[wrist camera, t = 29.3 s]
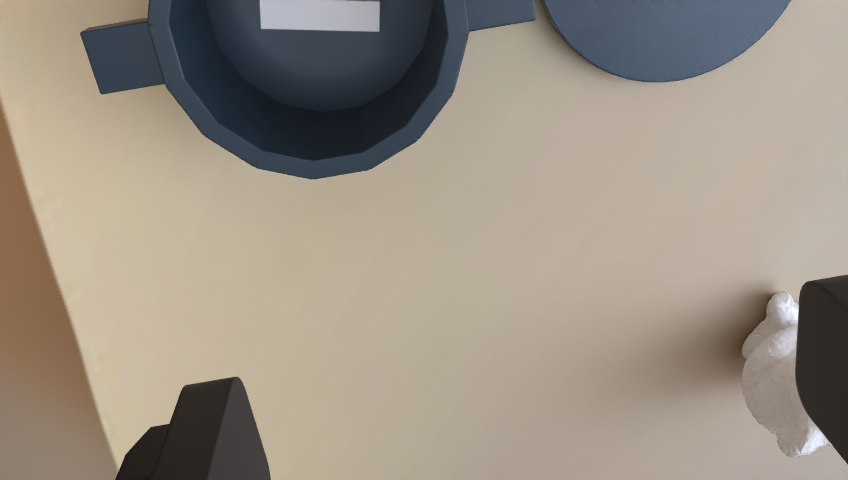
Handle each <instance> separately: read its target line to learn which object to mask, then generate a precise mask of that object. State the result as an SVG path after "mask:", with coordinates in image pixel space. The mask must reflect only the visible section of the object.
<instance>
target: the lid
mask: <svg viewBox="0 0 848 480" xmlns="http://www.w3.org/2000/svg"><path fill="white" fill-rule="evenodd" d="M541 1H542V3H543V6H544V8H545V10H546V13H547V15H548V17H549V19H550V20H551V22H552V23H553V25H554V27H555V28H556V30H557V32H558V33H559V34H560V35H561V36H562V38H563V39H564V40H565V41H566V42H567V44H568V45H569V46H570V47H572V48H573V49H574V50H575V51H576V52H577V53H578V54H579V55H580V56H582V57H583V58H584V59H586V60H587V61H589V62H590V63H592V64H593V65H595V66H596V67H598V68H600V69H602V70H604V71H606V72H608V73H610V74H613V75H616V76H619V77H622V78H626V79H630V80H636V81H642V82H669V81H679V80H683V79H687V78H691V77H696V76H698V75H701V74H704V73H706V72H709V71H712V70H714V69H716V68H718V67H720V66H722V65H724V64H726V63H728V62H730V61H731V60H733V59H734V58H736V57H737V56H739V55H740V54H742V53H743V52H745V51H746V50H747V49H748V48H749V47H751V46H752V45H753V44H754V43H755V42H757V41H758V40H759V39H760V38H761V37H762V36H763V35H764V34H765V33H766V32H767V31H768V30H769V29H770V28H771V27H772V26H773V24H774V23H775V22H776V21H777V19H778V18H779V17H780V16H781V14H782V13H783V12H784V10H785V9H786V7H787V6H788V4H789V2H790V1H791V0H541Z"/></svg>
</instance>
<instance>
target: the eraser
mask: <svg viewBox="0 0 848 480" xmlns="http://www.w3.org/2000/svg"><path fill="white" fill-rule="evenodd" d="M260 17H261V29H290V30H330V31H370V32H379V18H380V0H260Z"/></svg>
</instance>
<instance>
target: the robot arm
mask: <svg viewBox="0 0 848 480" xmlns="http://www.w3.org/2000/svg"><path fill="white" fill-rule="evenodd" d="M795 380H796V386H797V391H798V394H799V397H800V400H801V403H802V405H803V407H804V409H805V411H806V413H807V414H808V416H809V417H810V419H811V420H812V421H813V422H814V424H815V425H816V426H817V427H818V428H819V430H820V431H821V432H822V433H823V435H824V436H825V437H826V438H827V439H828V441H829V442H830V443H831V444H832V446H833V447H834V448H835V449H836V450H837V452H838V453H839V454H840V455H841V457H842V458H843V459H844V460H845V462H846V463H847V464H848V275H843V276H837V277H831V278H825V279H819V280H813V281H808V282H806V283H805V284H804V285H803V286H802V289H801V291H800V296H799V311H798V328H797V346H796V364H795ZM115 480H271V479H270V472H269V466H268V462H267V458H266V455H265V452H264V448H263V445H262V442H261V439H260V435H259V432H258V429H257V426H256V422H255V419H254V416H253V413H252V409H251V406H250V403H249V400H248V396H247V393H246V390H245V387H244V385H243V383H242V381H241V379H240V378H239V377H231V378H225V379H219V380H213V381H208V382H202V383H196V384H190V385H185V386H184V387H183V388H182V390H181V393H180V396H179V399H178V401H177V404H176V407H175V410H174V413H173V415H172V418H171V421H170V424H166V425H160V426H155V427H150V429H149V430H148V431H147V432H146V433H145V434H144V435H143V436H142V437H141V438H140V439H139V441H138V442H137V443H136V444H135V445H134V446H133V447H132V448H131V449H130V450H129V452H128V453H127V454H126V455H125V457H124V460H123V462H122V465H121V467H120V470H119V472H118V474H117V477H116V479H115Z"/></svg>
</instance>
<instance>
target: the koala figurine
mask: <svg viewBox="0 0 848 480" xmlns="http://www.w3.org/2000/svg"><path fill="white" fill-rule="evenodd" d="M798 311H799V304H798V303H795V302H793V298H792V297H791V295H790V294H789V293H787V292H781V293H778V294H775V295H773V296H772V298H771V299H770V301H769V302H768V305H767V307H766V313H767V317H766V319H765V320H764V321H762V322H760V324H759V325H758V326H757V327H756V328H755V329H754V330H753V332H752V333H751V334H749V335H748V337H747V339H746V340H745V342H744V344H743V348H742V354H743V356H744V357H745V358H746V359H747V360H746V362H745V365H744V369H743V371H742V372H743V374H742V390H743V391H742V392H743V395H744V398H745V401H746V404H747V407H748V409H749V411H750V412H751V413H752V415H753V417H754V418H755V419H756V420H757V422H759V424H762V425H763V426H765V428H767V429H768V430H769V431H770V432H772V433H774V434H776V435H777V439H778V440H777V443H778V445H779V447H780V449H781V450H782V452H783V453H785V454H786V455H787V456H789V457H796V456H797V457H801V456H809V455H810V454H811V453H813V452H814V450H816V449H817V448H819V447H822V446H832V444H831V443H830V442H829V441H828V439H827V438H826V437H825V436H824V435H823V433H822V432H821V431H820V430H819V428H818V427H817V426H816V425H815V424H814V422H813V421H812V420H811V419H810V417H809V416H808V414H807V413H806V411H805V409H804V407H803V405H802V403H801V400H800V397H799V394H798V391H797V386H796V380H795V364H796V346H797V328H798Z"/></svg>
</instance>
